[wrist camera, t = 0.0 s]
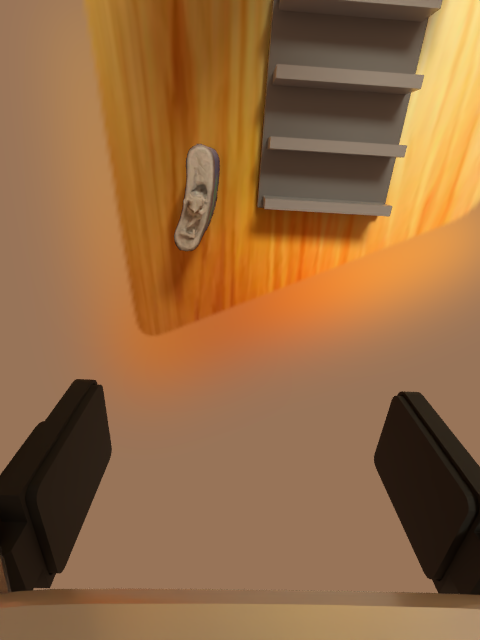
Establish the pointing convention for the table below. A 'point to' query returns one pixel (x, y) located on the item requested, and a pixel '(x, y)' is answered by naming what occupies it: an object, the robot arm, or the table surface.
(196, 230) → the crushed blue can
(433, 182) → the table surface
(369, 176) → the rack
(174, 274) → the table surface
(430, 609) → the robot arm
